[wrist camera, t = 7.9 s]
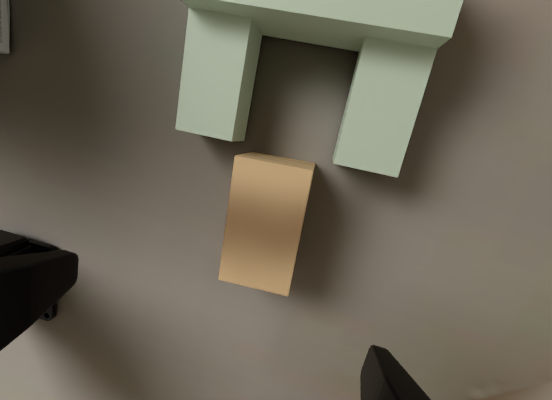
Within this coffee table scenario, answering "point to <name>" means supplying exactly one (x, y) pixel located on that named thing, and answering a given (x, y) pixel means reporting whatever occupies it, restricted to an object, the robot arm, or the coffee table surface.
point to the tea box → (4, 26)
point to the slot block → (328, 32)
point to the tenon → (265, 221)
